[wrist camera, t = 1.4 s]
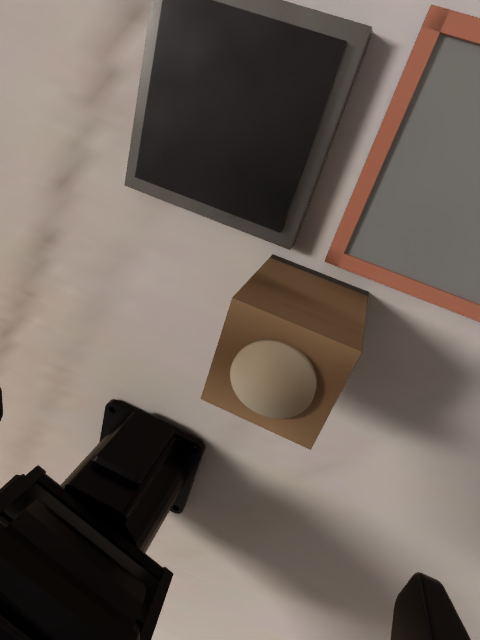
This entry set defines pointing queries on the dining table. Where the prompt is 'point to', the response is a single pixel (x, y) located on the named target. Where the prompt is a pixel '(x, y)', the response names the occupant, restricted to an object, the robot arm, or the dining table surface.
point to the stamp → (287, 349)
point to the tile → (424, 176)
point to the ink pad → (241, 108)
